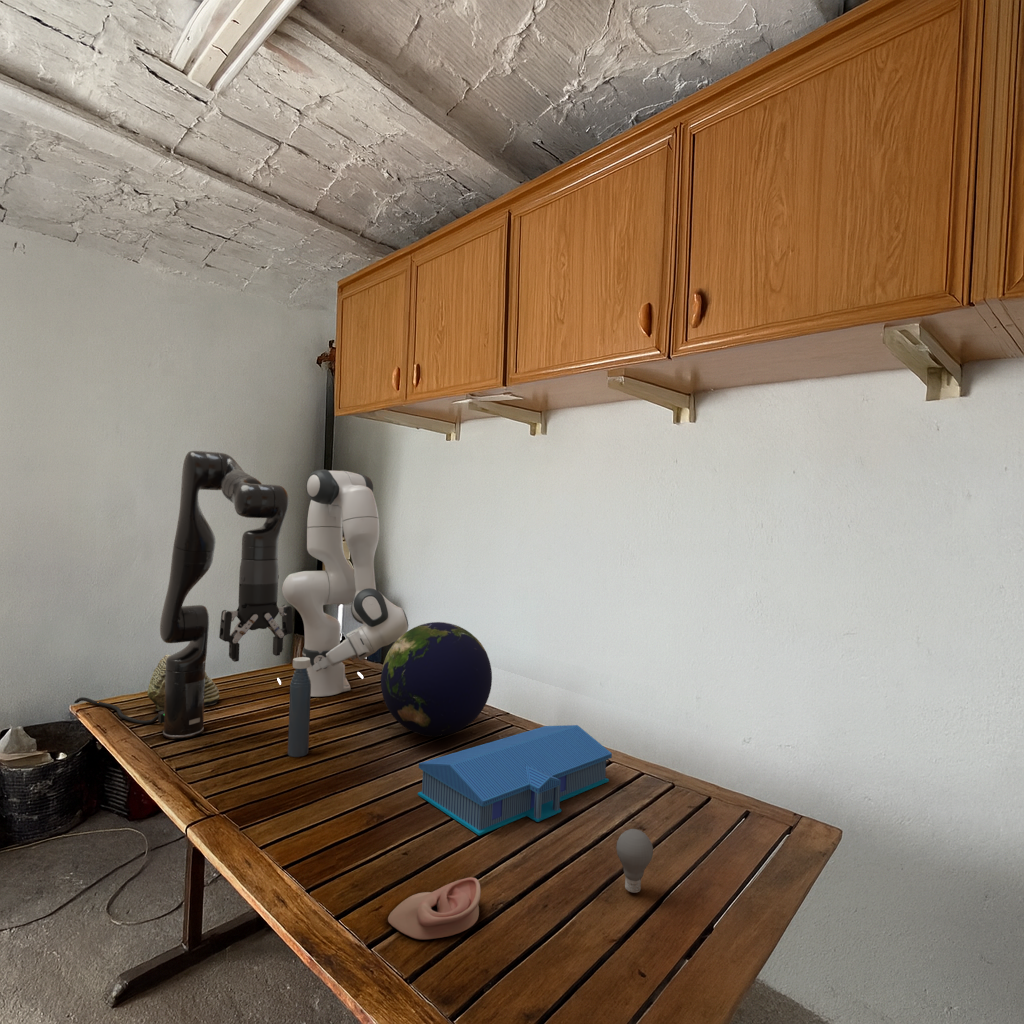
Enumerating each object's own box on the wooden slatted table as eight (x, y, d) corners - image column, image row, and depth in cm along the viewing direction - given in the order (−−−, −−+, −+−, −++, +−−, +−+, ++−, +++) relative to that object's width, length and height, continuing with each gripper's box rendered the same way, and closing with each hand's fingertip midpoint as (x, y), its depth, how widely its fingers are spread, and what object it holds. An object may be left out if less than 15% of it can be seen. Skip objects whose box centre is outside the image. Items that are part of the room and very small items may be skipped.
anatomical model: (380, 905, 93) (408, 862, 104) (379, 932, 93) (407, 886, 104) (467, 921, 90) (487, 875, 101) (466, 949, 90) (486, 900, 101)
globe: (355, 741, 164) (360, 626, 164) (415, 708, 192) (419, 609, 191) (458, 763, 153) (464, 640, 152) (506, 725, 181) (511, 620, 180)
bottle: (303, 757, 153) (307, 663, 153) (283, 756, 153) (287, 662, 153) (311, 749, 158) (315, 658, 157) (292, 748, 158) (296, 657, 158)
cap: (305, 669, 153) (306, 661, 153) (289, 668, 153) (289, 660, 153) (312, 665, 157) (312, 657, 157) (296, 664, 157) (297, 656, 157)
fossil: (144, 707, 182) (145, 655, 182) (212, 696, 194) (213, 647, 194) (151, 716, 175) (153, 662, 175) (221, 703, 188) (223, 653, 188)
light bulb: (610, 879, 108) (613, 822, 108) (644, 879, 109) (647, 822, 109) (619, 902, 102) (622, 840, 102) (655, 901, 103) (658, 840, 103)
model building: (489, 842, 118) (492, 789, 118) (416, 794, 136) (418, 748, 136) (620, 786, 145) (622, 742, 145) (544, 751, 163) (546, 712, 163)
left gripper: (284, 576, 139) (281, 649, 139) (216, 579, 129) (213, 658, 130) (299, 580, 134) (296, 656, 134) (230, 584, 124) (227, 667, 124)
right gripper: (352, 637, 197) (311, 660, 193) (353, 632, 178) (307, 658, 173) (362, 655, 196) (320, 679, 192) (363, 652, 177) (317, 678, 173)
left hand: (256, 657), depth 132 cm, fingers open, 8 cm apart
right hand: (314, 669), depth 182 cm, fingers open, 8 cm apart
